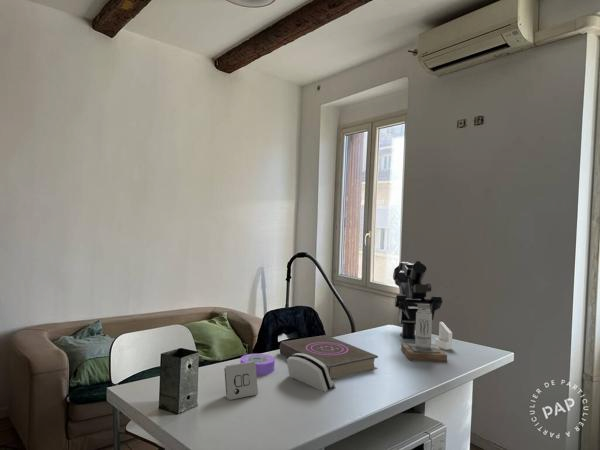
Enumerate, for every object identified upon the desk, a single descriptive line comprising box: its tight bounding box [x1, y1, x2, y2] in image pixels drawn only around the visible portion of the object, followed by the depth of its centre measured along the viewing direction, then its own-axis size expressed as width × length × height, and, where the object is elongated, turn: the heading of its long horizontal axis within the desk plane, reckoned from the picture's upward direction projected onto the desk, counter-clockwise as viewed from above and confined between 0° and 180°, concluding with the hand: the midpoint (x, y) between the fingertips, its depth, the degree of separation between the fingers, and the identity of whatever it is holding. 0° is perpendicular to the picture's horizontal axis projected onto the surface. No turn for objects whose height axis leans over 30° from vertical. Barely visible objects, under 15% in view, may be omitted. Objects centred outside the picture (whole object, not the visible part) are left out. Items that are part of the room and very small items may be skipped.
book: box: [279, 334, 379, 380], centre depth 158 cm, size 30×22×5 cm
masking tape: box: [239, 353, 276, 376], centre depth 147 cm, size 12×12×4 cm
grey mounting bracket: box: [286, 353, 336, 392], centre depth 136 cm, size 17×5×10 cm, turn 43°
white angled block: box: [434, 321, 453, 351], centre depth 181 cm, size 4×10×9 cm, turn 25°
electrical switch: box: [224, 362, 259, 401], centre depth 125 cm, size 9×5×9 cm, turn 121°
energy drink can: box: [414, 307, 433, 349], centre depth 169 cm, size 6×6×15 cm
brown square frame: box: [400, 342, 448, 363], centre depth 168 cm, size 14×14×3 cm
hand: (421, 319), depth 173 cm, fingers open, 9 cm apart
